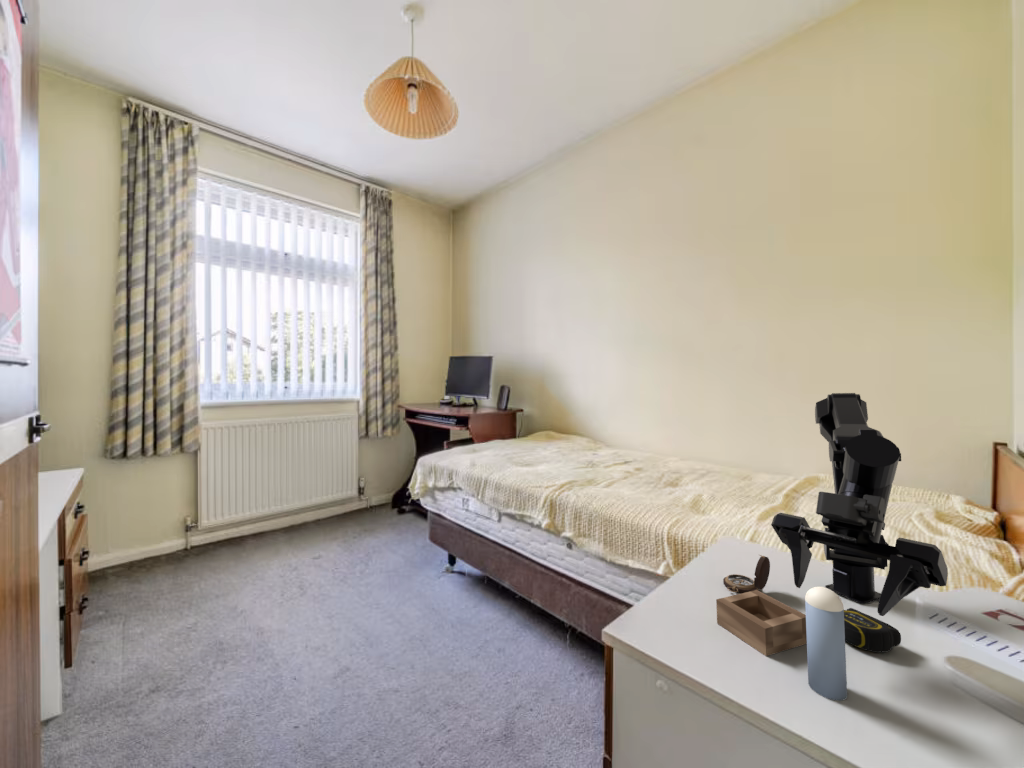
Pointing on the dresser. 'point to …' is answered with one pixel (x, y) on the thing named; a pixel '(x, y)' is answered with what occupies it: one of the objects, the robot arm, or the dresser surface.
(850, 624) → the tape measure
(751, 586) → the compass
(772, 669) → the dresser surface
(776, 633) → the open wooden box
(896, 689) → the dresser surface
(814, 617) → the dome-topped blue cylinder
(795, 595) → the dresser surface
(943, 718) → the dresser surface
